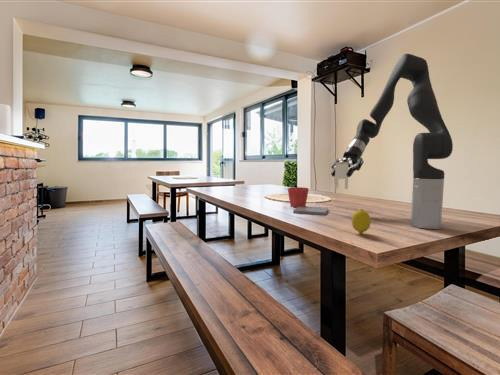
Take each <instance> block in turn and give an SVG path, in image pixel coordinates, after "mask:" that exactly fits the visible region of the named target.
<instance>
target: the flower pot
mask: <svg viewBox="0 0 500 375" xmlns="http://www.w3.org/2000/svg"><path fill="white" fill-rule="evenodd" d="M309 189H310V188H309V187H301V186H299V187H292V186H291V187H288V188H287V191H288V192H287V193H288V200H289V204H290V207H292V208H297V207H298V206H306V205H307V202H308V201H307V200H308V195H309Z"/></svg>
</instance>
